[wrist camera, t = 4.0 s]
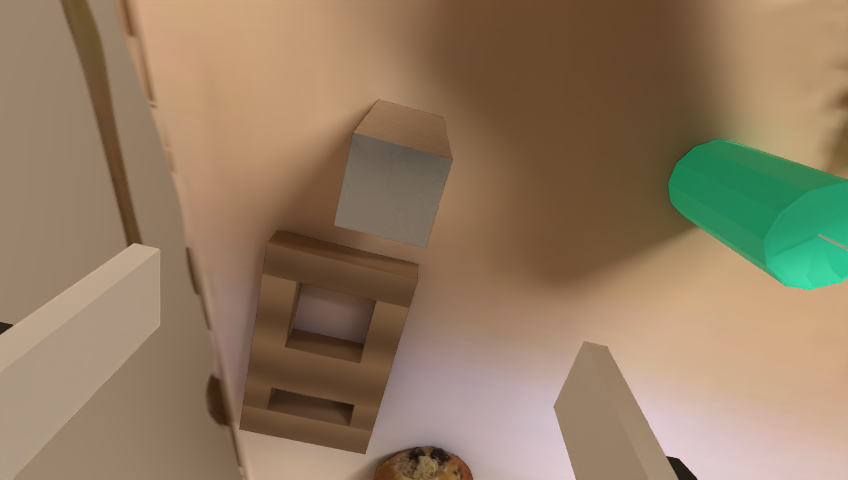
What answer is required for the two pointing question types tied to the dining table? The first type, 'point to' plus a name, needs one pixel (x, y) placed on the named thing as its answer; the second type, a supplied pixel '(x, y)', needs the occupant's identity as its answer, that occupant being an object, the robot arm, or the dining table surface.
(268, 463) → the dining table surface
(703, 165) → the candle
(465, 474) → the bread roll
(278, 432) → the socket block
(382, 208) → the square bit
